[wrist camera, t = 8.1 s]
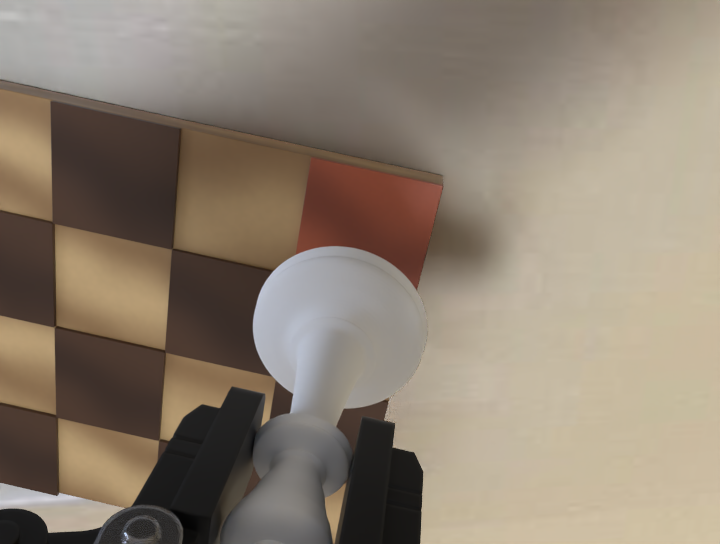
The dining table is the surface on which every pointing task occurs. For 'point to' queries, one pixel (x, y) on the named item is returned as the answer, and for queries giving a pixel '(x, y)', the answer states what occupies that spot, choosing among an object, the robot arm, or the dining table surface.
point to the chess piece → (323, 382)
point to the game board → (159, 277)
